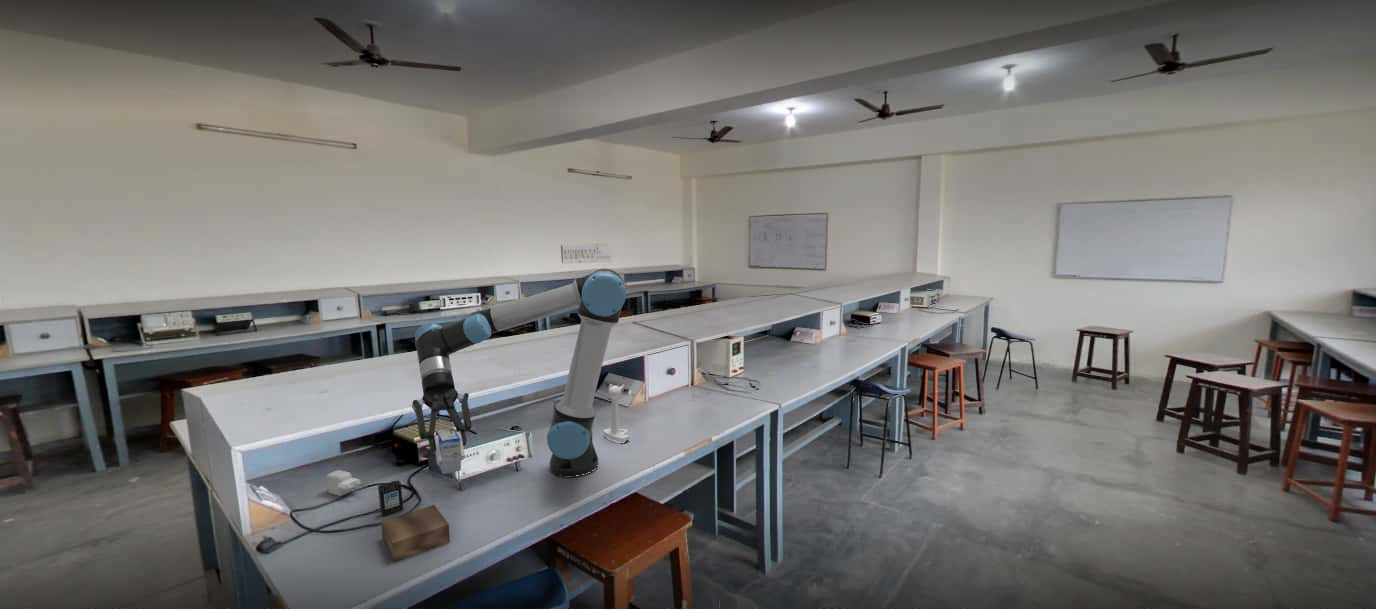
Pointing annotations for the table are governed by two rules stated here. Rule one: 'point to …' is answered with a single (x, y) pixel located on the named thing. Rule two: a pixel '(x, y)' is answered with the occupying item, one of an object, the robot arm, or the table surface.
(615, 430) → the joystick
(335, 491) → the power adapter
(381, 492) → the ink cartridge
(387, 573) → the table surface
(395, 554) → the walnut block
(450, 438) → the medicine box
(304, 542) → the table surface
